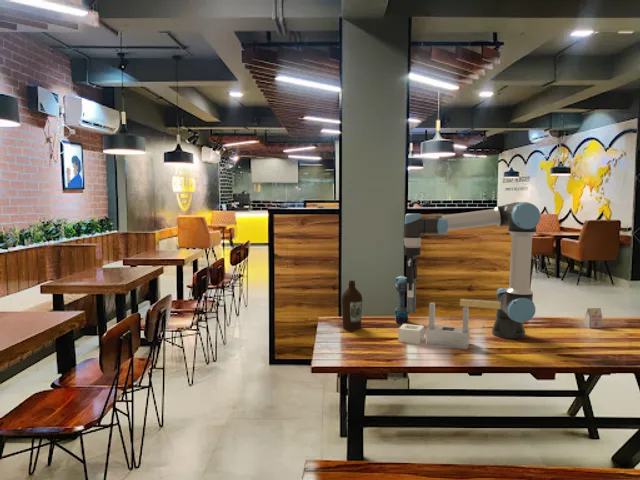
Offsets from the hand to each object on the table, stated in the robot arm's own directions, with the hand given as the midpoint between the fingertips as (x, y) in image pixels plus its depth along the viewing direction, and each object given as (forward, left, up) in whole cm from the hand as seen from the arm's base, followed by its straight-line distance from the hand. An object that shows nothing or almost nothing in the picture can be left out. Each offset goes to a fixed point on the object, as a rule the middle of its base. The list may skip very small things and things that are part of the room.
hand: (411, 296), depth 220 cm
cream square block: (0, 0, -21) cm, 21 cm away
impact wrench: (+13, -33, -21) cm, 41 cm away
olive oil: (+33, -9, -21) cm, 40 cm away
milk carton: (-82, -59, -21) cm, 103 cm away
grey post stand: (-17, 0, -21) cm, 27 cm away
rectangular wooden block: (-31, 0, -2) cm, 31 cm away
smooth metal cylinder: (0, 0, -8) cm, 8 cm away
